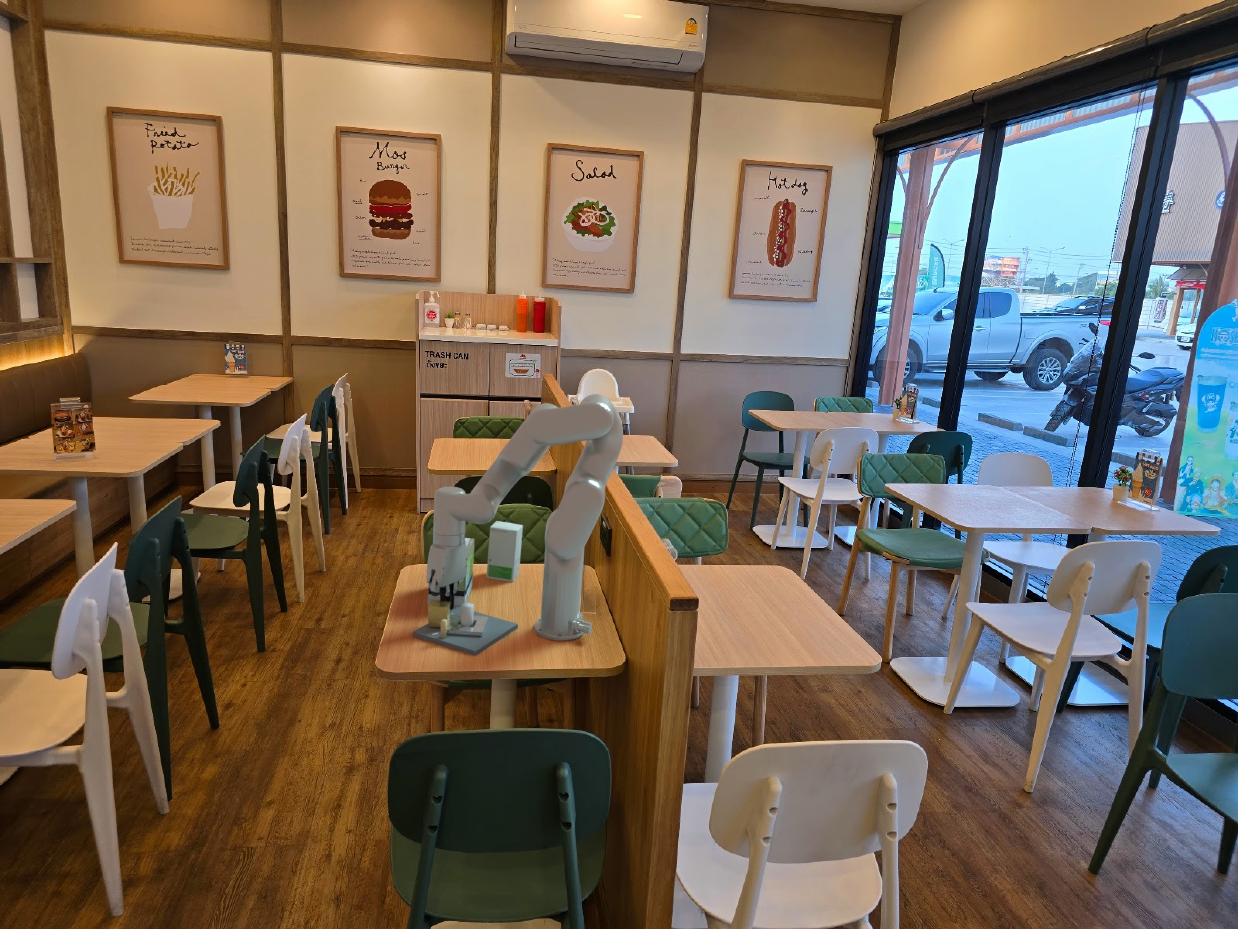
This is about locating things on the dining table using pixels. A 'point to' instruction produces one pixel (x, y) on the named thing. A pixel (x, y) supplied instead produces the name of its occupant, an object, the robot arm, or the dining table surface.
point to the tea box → (465, 585)
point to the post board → (467, 643)
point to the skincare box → (504, 551)
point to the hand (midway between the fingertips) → (446, 608)
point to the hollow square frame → (454, 620)
